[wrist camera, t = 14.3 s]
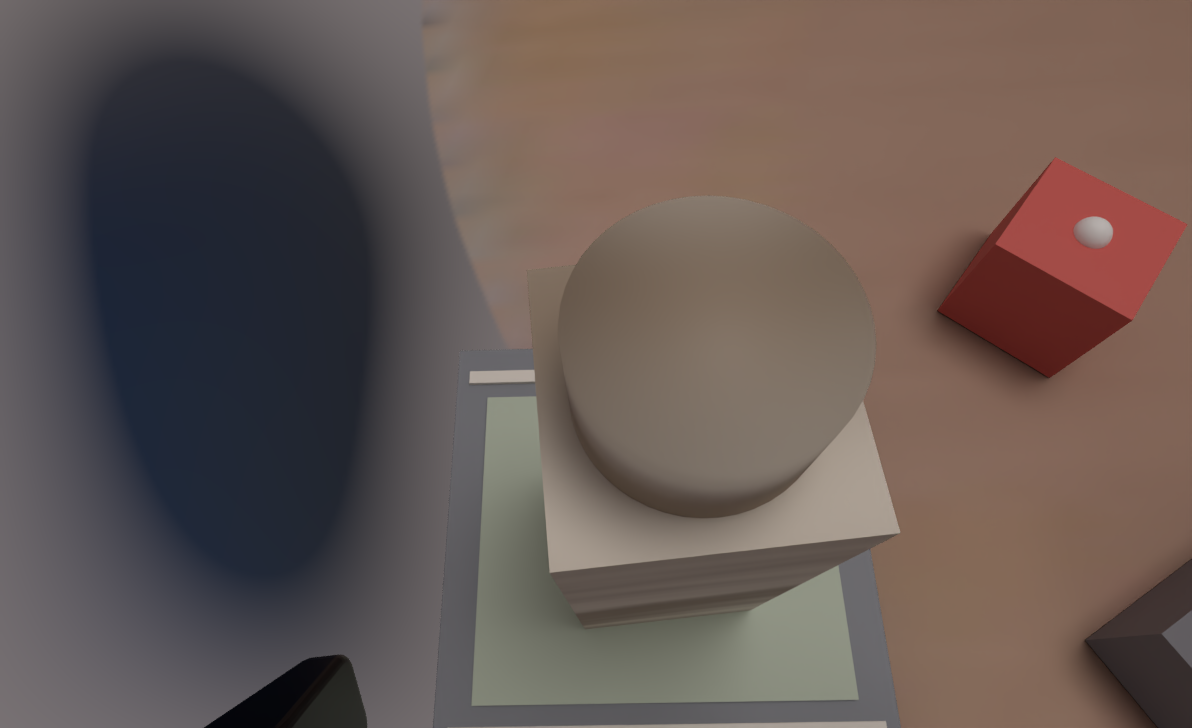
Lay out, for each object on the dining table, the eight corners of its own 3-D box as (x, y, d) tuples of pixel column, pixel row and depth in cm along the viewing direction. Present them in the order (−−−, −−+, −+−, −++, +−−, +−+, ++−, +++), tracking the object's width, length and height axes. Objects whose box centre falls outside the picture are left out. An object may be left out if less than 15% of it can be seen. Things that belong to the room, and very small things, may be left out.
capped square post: (750, 610, 19) (973, 495, 7) (584, 629, 19) (532, 545, 7) (720, 451, 21) (859, 150, 9) (569, 467, 21) (507, 185, 9)
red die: (1049, 377, 23) (1145, 311, 19) (937, 310, 24) (1003, 234, 20) (1100, 293, 24) (1200, 213, 20) (991, 233, 25) (1065, 145, 21)
